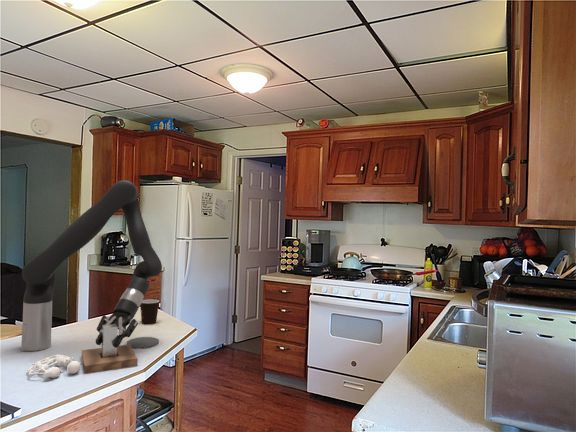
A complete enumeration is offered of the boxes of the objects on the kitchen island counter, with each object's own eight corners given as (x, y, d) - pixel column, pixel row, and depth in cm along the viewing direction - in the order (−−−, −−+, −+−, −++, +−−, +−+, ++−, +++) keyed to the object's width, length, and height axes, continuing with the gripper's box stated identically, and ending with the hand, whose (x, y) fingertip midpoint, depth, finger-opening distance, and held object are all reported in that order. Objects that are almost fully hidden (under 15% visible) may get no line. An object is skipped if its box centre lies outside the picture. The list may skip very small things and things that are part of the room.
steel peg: (102, 363, 136) (103, 328, 136) (101, 359, 140) (102, 325, 140) (116, 361, 138) (117, 327, 138) (114, 357, 142) (116, 323, 142)
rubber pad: (129, 350, 151) (129, 348, 151) (124, 341, 161) (124, 339, 161) (161, 346, 157) (161, 344, 157) (155, 337, 167) (155, 335, 167)
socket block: (84, 373, 128) (84, 365, 128) (81, 357, 142) (81, 350, 142) (137, 365, 136) (137, 358, 136) (129, 351, 150) (129, 344, 150)
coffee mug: (154, 325, 184) (155, 303, 184) (136, 324, 185) (136, 303, 185) (163, 319, 196) (163, 298, 196) (145, 318, 196) (146, 297, 196)
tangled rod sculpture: (22, 369, 134) (21, 356, 134) (71, 356, 143) (70, 345, 143) (32, 387, 119) (31, 374, 119) (85, 372, 128) (84, 359, 128)
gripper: (108, 296, 148) (82, 337, 137) (142, 299, 144) (119, 342, 133) (117, 307, 153) (93, 348, 142) (150, 311, 150) (128, 353, 138)
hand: (106, 345), depth 137 cm, fingers closed on steel peg, 6 cm apart
